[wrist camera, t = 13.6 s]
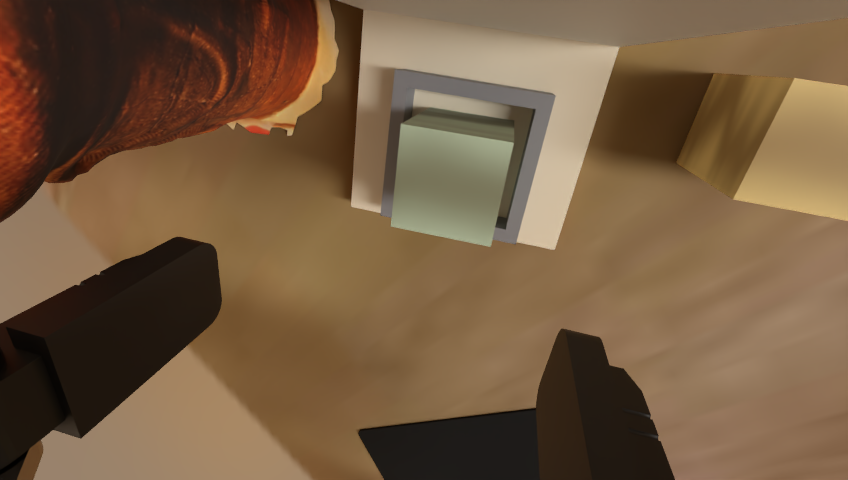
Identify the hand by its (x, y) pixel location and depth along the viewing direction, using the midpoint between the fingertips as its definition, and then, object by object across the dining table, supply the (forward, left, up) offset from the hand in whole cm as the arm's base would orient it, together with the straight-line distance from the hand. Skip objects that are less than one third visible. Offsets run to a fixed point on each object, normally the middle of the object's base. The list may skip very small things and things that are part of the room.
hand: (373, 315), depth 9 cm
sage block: (0, 0, -17) cm, 17 cm away
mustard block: (-4, +15, -19) cm, 25 cm away
